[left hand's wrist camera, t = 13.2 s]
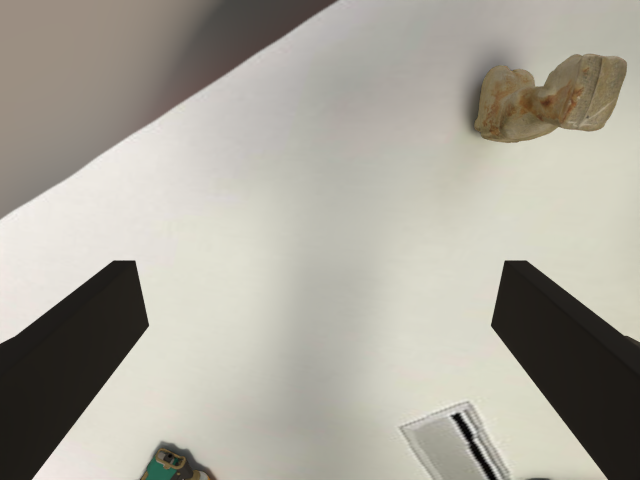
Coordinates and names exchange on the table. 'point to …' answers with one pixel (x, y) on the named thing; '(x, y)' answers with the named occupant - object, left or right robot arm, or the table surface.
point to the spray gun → (171, 468)
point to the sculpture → (549, 98)
